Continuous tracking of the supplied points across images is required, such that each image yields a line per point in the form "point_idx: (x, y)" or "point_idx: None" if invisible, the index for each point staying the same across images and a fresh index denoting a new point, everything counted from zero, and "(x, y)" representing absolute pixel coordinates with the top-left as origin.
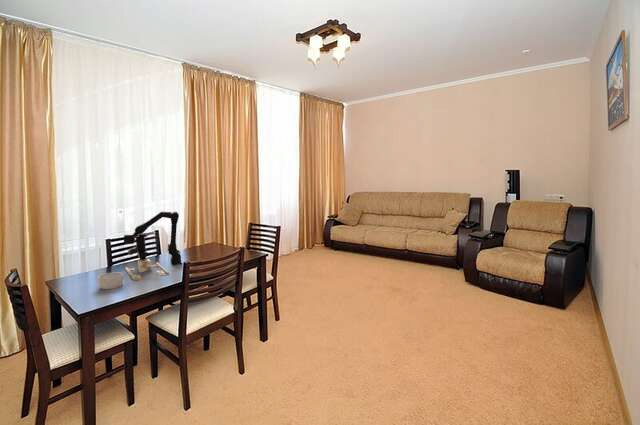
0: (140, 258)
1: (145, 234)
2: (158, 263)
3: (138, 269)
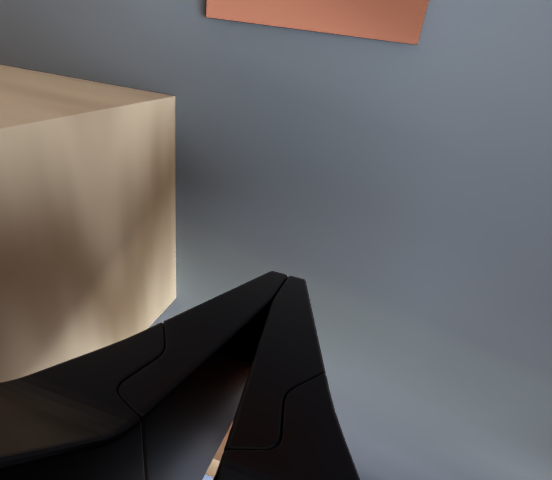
0: (52, 374)
1: None
2: (211, 472)
3: (158, 95)
